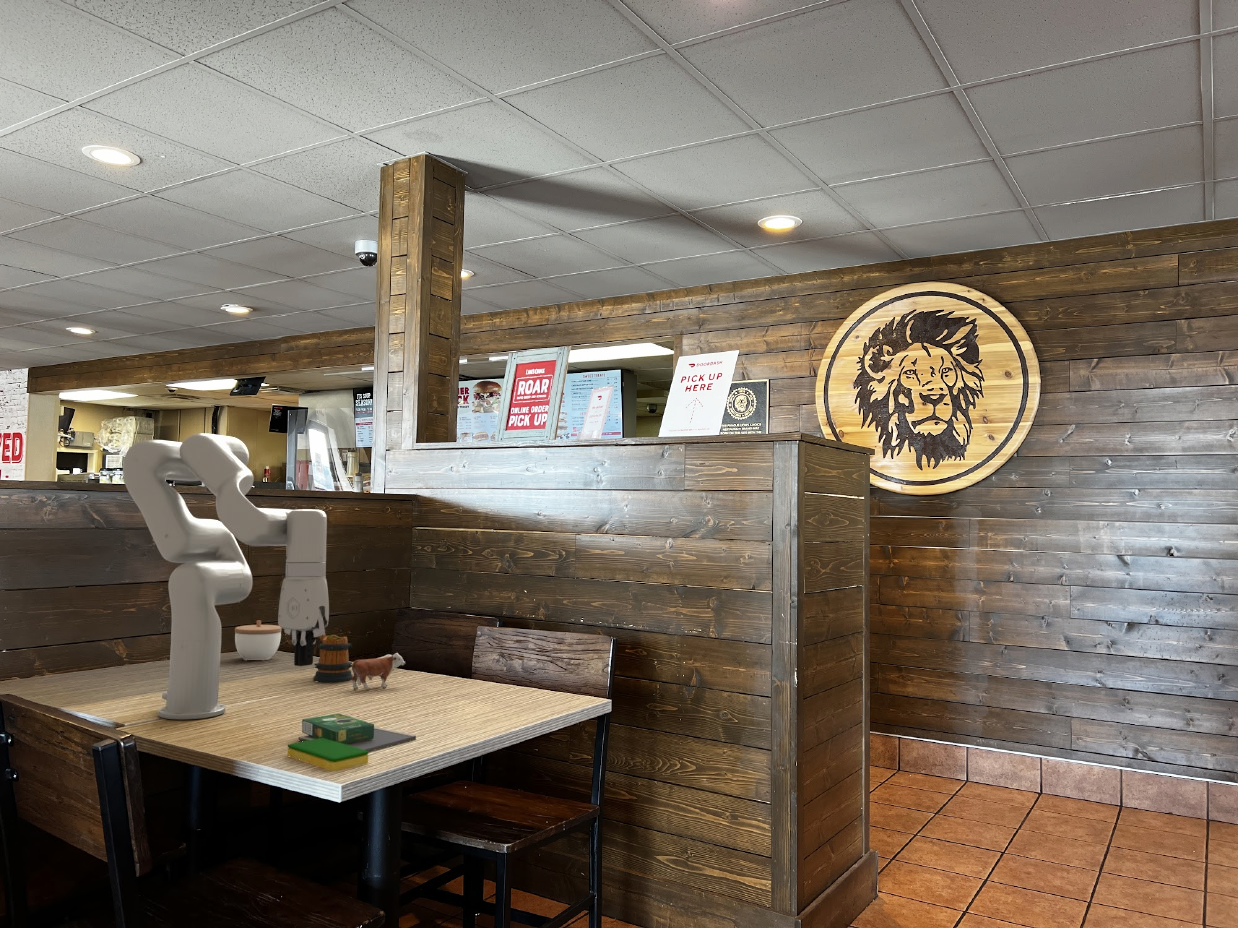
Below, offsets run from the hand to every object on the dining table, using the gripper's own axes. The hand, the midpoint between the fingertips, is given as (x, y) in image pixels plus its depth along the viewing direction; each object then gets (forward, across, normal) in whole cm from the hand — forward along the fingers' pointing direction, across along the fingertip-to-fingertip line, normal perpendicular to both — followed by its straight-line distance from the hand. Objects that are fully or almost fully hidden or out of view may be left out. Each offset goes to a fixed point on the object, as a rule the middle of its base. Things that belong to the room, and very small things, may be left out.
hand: (303, 664), depth 174 cm
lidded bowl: (+10, -80, +48) cm, 94 cm away
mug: (+12, -39, +40) cm, 57 cm away
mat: (+13, +15, 0) cm, 20 cm away
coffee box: (+10, +6, -1) cm, 12 cm away
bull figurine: (+12, -21, +39) cm, 46 cm away
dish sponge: (+13, +22, -12) cm, 28 cm away
